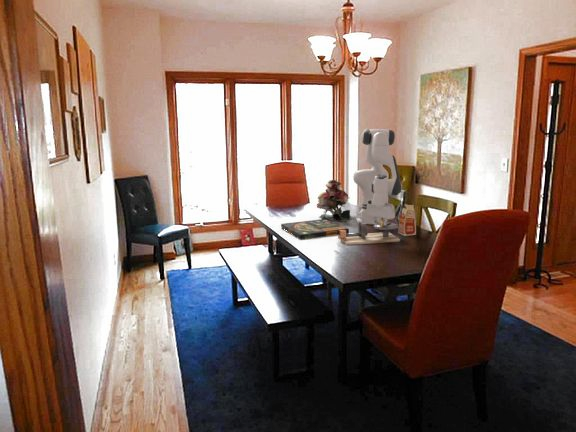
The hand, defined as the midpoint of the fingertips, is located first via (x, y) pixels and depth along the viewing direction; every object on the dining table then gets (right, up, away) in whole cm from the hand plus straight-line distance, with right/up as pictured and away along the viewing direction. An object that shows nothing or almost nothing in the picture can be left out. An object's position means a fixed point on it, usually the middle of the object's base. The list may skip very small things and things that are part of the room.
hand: (380, 224), depth 267 cm
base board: (-6, -10, +5) cm, 13 cm away
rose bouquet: (-22, +3, +70) cm, 73 cm away
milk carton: (+21, -7, +17) cm, 28 cm away
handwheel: (+4, -2, +4) cm, 6 cm away
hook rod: (-16, -8, +4) cm, 18 cm away
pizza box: (-39, -6, +33) cm, 51 cm away
